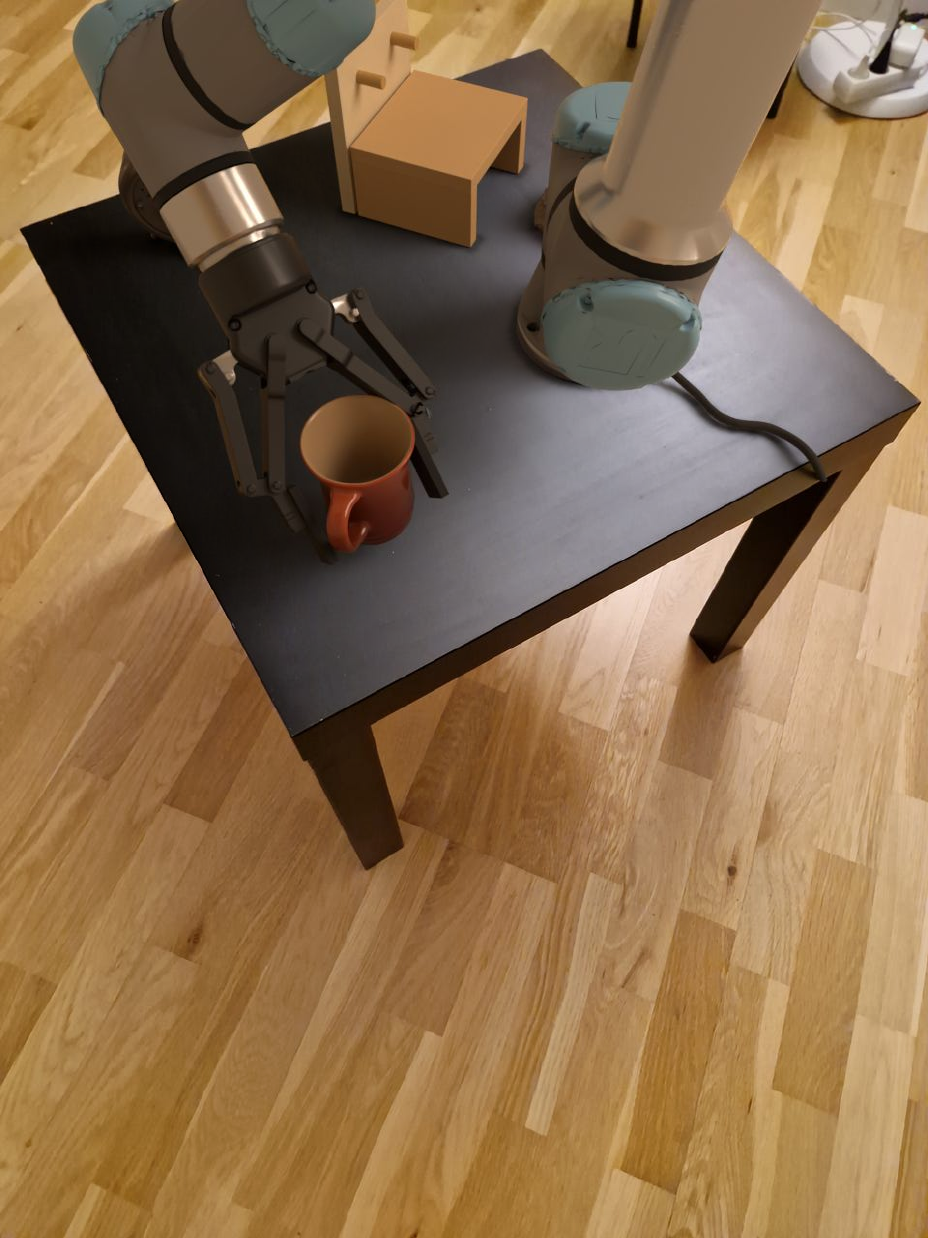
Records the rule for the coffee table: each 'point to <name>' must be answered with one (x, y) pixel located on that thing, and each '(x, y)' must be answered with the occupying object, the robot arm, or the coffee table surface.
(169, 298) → the coffee table surface
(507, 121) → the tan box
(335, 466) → the mug
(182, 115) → the robot arm
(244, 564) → the coffee table surface
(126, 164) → the alarm clock
